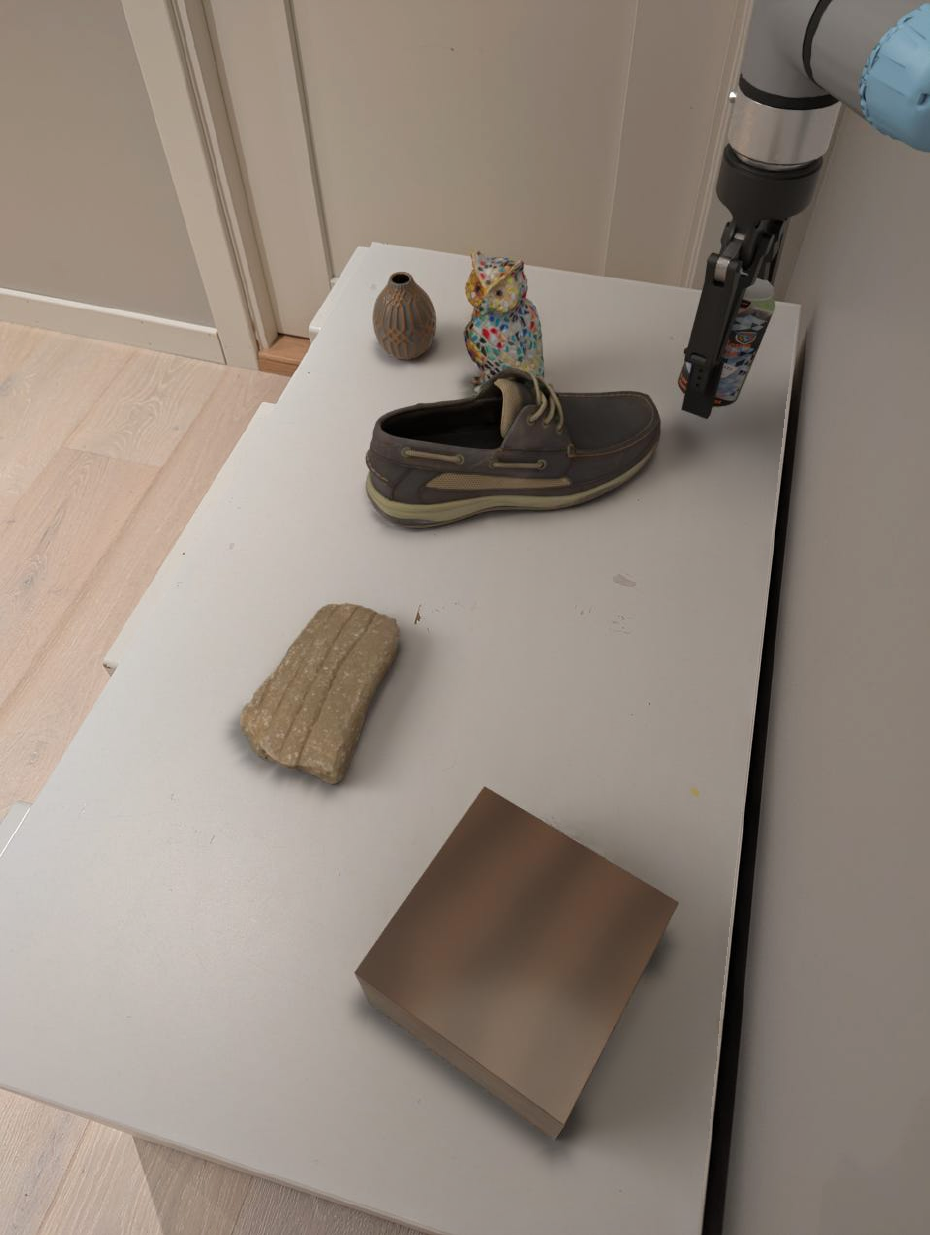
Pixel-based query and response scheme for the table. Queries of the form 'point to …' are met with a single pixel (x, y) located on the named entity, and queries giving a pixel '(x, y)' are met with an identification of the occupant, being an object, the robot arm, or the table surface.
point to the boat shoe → (506, 450)
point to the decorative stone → (322, 691)
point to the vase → (404, 318)
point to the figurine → (501, 319)
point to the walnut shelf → (516, 957)
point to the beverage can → (741, 342)
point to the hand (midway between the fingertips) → (713, 389)
